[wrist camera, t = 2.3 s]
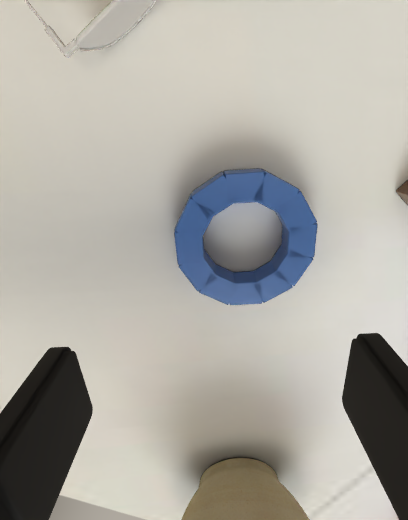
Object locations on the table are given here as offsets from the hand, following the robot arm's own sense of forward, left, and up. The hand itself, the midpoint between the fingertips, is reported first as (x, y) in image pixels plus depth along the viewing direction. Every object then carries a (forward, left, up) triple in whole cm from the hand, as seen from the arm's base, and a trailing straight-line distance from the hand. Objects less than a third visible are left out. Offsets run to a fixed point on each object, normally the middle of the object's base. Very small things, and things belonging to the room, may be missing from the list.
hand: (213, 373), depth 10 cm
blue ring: (+2, +2, -14) cm, 14 cm away
